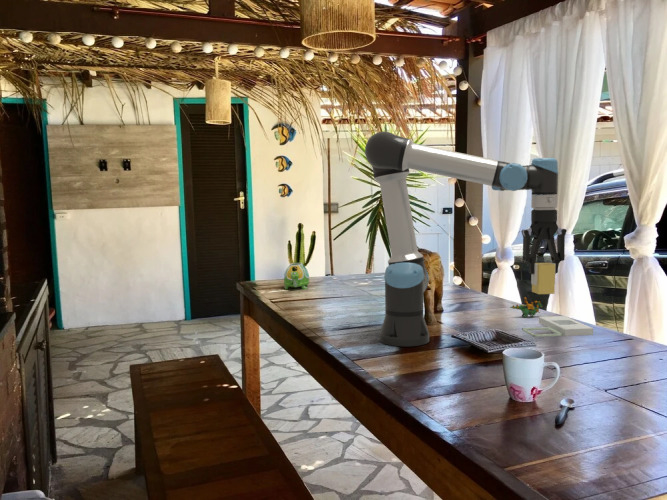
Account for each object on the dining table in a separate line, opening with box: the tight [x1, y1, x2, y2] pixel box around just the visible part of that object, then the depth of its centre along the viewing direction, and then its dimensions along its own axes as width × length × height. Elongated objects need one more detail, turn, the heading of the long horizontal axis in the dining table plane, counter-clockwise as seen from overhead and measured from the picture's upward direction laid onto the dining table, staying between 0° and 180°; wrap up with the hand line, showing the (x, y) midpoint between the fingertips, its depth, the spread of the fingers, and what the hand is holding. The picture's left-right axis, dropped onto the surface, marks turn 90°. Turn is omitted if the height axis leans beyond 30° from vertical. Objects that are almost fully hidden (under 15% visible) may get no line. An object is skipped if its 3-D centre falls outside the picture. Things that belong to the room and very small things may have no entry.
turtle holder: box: [283, 262, 310, 290], centre depth 278 cm, size 12×18×12 cm
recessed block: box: [538, 315, 594, 337], centre depth 186 cm, size 9×18×3 cm, turn 5°
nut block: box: [531, 262, 556, 295], centre depth 180 cm, size 5×5×9 cm
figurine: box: [509, 296, 543, 319], centre depth 203 cm, size 3×12×8 cm, turn 95°
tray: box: [521, 326, 564, 338], centre depth 182 cm, size 9×9×2 cm
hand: (543, 283), depth 180 cm, fingers closed on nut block, 5 cm apart
